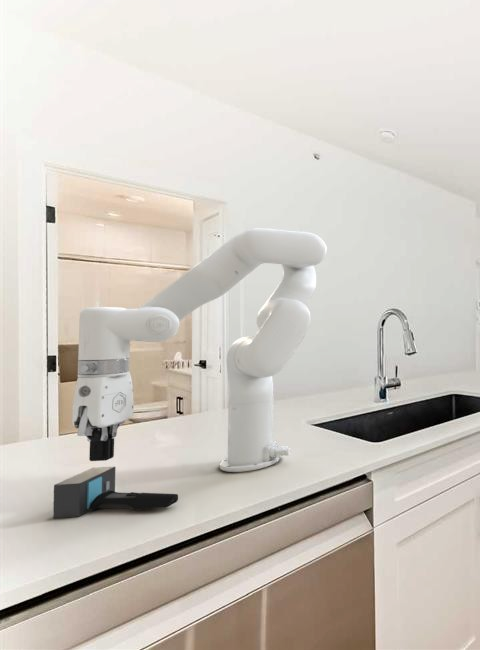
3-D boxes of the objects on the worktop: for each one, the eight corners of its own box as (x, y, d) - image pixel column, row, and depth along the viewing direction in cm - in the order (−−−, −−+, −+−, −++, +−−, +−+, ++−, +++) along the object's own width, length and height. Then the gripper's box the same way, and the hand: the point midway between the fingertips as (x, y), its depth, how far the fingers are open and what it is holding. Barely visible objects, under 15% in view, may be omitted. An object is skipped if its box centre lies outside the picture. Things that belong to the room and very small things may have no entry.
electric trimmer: (166, 515, 78) (167, 497, 78) (86, 512, 79) (87, 494, 79) (183, 506, 82) (184, 489, 82) (106, 503, 83) (107, 486, 83)
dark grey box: (117, 466, 86) (81, 483, 78) (116, 496, 86) (80, 516, 77) (92, 467, 86) (53, 485, 77) (92, 497, 85) (53, 518, 77)
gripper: (96, 372, 79) (93, 471, 79) (149, 364, 94) (147, 447, 93) (49, 373, 78) (46, 473, 77) (110, 364, 93) (108, 449, 92)
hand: (101, 459), depth 85 cm, fingers closed
